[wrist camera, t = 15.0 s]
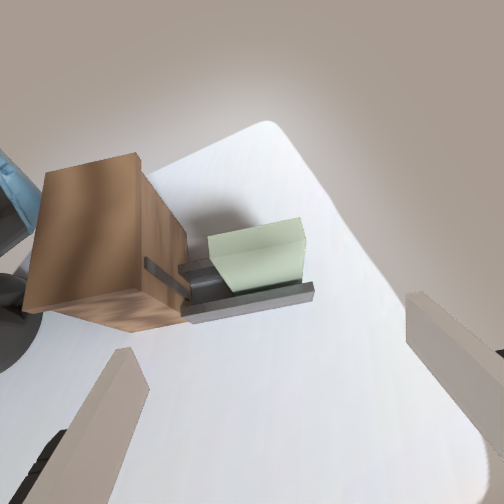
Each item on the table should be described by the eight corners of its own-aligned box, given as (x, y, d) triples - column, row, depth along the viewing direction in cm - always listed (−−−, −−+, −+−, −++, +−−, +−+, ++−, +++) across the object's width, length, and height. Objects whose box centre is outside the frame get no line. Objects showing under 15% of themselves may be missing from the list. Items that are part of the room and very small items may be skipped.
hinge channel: (193, 324, 40) (180, 317, 35) (189, 276, 42) (177, 264, 38) (312, 301, 39) (314, 290, 34) (300, 254, 42) (301, 239, 37)
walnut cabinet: (127, 337, 40) (21, 310, 24) (128, 242, 46) (45, 172, 31) (197, 323, 40) (134, 287, 24) (189, 229, 46) (135, 152, 30)
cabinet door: (237, 299, 40) (209, 259, 27) (234, 278, 42) (206, 229, 28) (301, 287, 40) (306, 239, 26) (296, 265, 41) (298, 210, 27)
